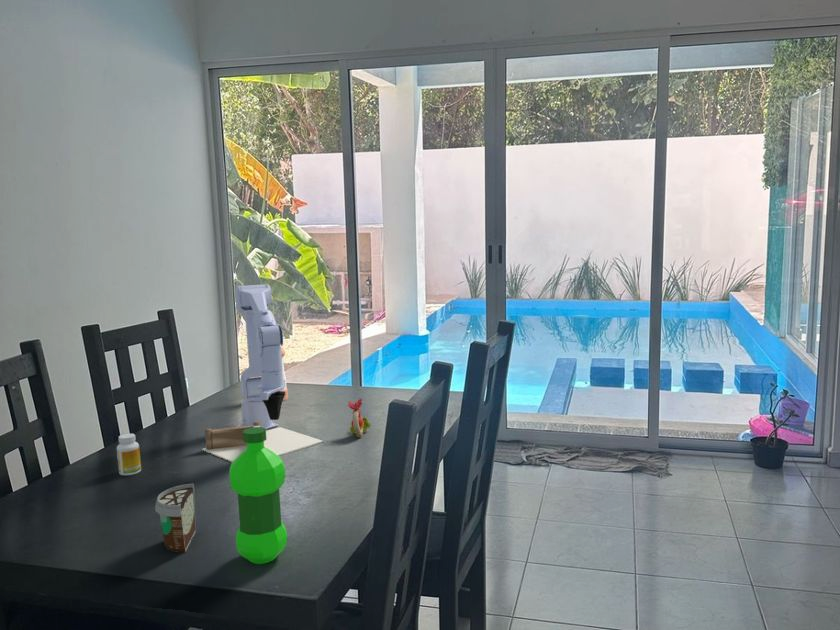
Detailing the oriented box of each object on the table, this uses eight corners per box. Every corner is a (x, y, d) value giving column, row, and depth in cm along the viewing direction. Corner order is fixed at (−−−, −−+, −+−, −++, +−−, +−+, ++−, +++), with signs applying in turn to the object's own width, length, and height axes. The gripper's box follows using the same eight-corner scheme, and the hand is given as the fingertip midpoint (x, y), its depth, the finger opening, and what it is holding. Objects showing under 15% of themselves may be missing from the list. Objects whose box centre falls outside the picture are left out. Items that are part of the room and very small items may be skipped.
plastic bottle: (224, 566, 136) (214, 436, 132) (256, 541, 145) (247, 420, 142) (270, 574, 132) (261, 441, 128) (299, 548, 142) (292, 424, 138)
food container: (167, 530, 152) (163, 484, 150) (197, 528, 152) (193, 482, 151) (150, 558, 140) (146, 508, 138) (183, 555, 140) (179, 506, 139)
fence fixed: (206, 447, 203) (204, 427, 203) (261, 441, 207) (260, 421, 207) (206, 450, 202) (204, 429, 201) (262, 443, 206) (260, 423, 205)
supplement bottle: (146, 470, 188) (142, 433, 187) (129, 477, 184) (126, 439, 182) (130, 467, 191) (127, 431, 189) (114, 474, 186) (110, 437, 184)
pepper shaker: (263, 401, 253) (260, 347, 250) (271, 396, 260) (268, 343, 257) (283, 401, 252) (280, 347, 249) (291, 396, 259) (288, 343, 256)
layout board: (202, 450, 203) (202, 448, 203) (280, 428, 221) (280, 426, 221) (243, 467, 188) (243, 465, 188) (323, 442, 206) (323, 440, 206)
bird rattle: (370, 444, 210) (371, 423, 218) (368, 414, 204) (368, 394, 212) (349, 445, 210) (350, 424, 218) (345, 415, 204) (347, 395, 212)
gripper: (266, 364, 203) (269, 411, 205) (247, 376, 189) (250, 426, 191) (291, 364, 202) (293, 411, 204) (273, 376, 188) (276, 427, 190)
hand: (274, 419), depth 198 cm, fingers closed
